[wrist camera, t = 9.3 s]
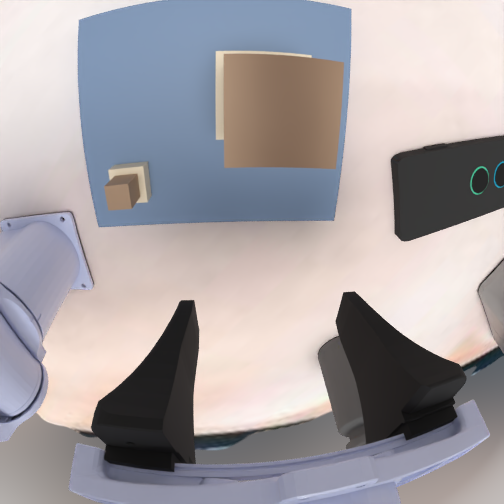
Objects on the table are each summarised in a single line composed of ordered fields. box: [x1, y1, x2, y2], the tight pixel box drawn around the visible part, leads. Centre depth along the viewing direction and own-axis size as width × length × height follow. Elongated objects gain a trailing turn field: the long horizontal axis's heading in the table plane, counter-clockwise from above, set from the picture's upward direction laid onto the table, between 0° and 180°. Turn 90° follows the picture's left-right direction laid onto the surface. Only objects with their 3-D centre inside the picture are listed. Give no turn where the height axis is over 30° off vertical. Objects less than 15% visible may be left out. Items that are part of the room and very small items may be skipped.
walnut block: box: [224, 54, 344, 169], centre depth 11 cm, size 4×4×6 cm
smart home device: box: [391, 136, 504, 241], centre depth 21 cm, size 8×2×20 cm
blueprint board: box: [78, 0, 351, 227], centre depth 16 cm, size 18×16×5 cm
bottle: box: [318, 337, 366, 449], centre depth 26 cm, size 6×6×15 cm
